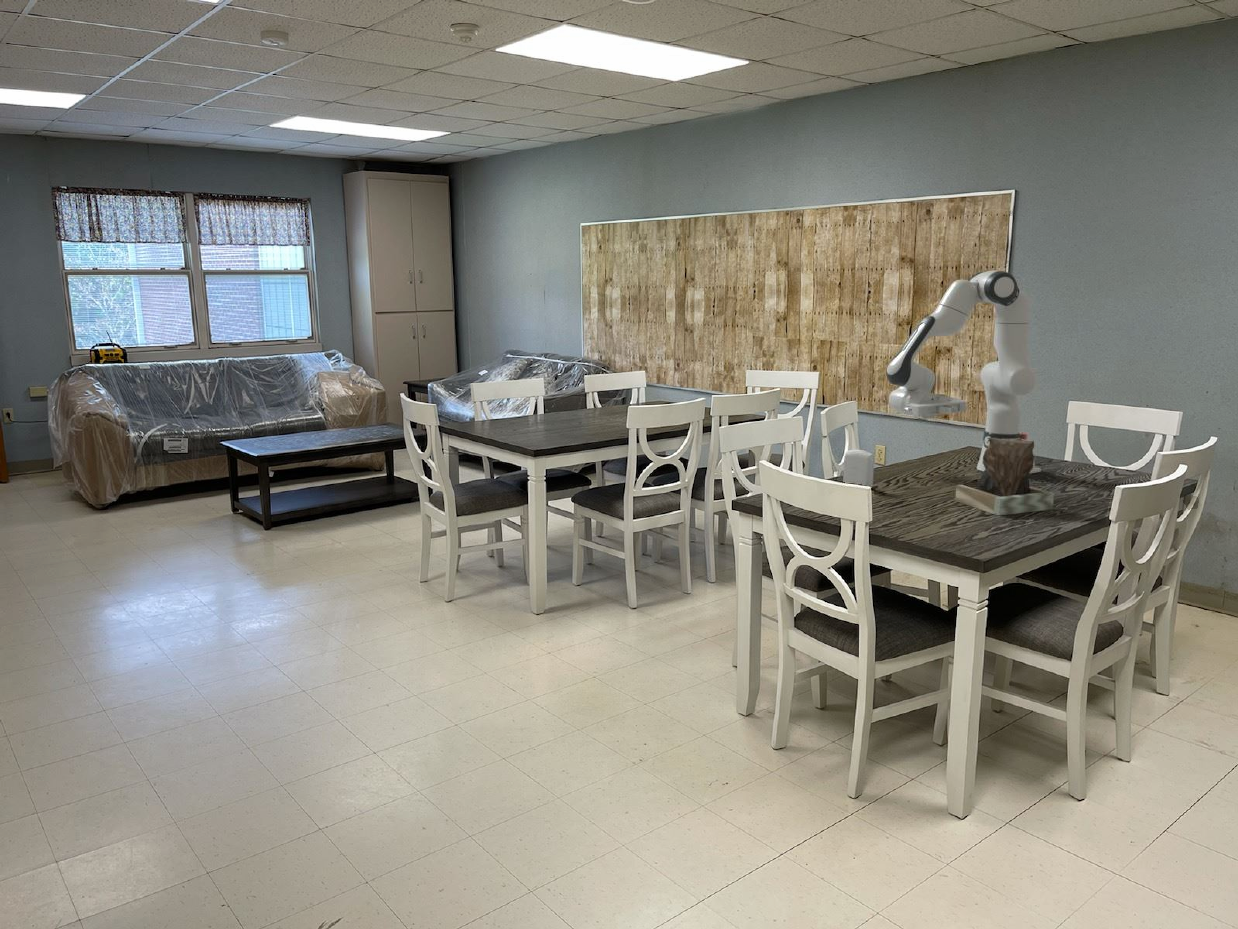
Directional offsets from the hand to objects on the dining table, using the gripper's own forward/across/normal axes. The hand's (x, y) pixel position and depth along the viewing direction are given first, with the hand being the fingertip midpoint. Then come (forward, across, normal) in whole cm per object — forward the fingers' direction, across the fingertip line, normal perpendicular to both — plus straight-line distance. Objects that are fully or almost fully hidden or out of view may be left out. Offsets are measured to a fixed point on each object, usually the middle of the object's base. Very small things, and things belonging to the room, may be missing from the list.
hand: (954, 410), depth 296 cm
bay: (+27, -5, +25) cm, 37 cm away
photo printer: (-7, -32, +24) cm, 41 cm away
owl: (+27, -4, +25) cm, 37 cm away
